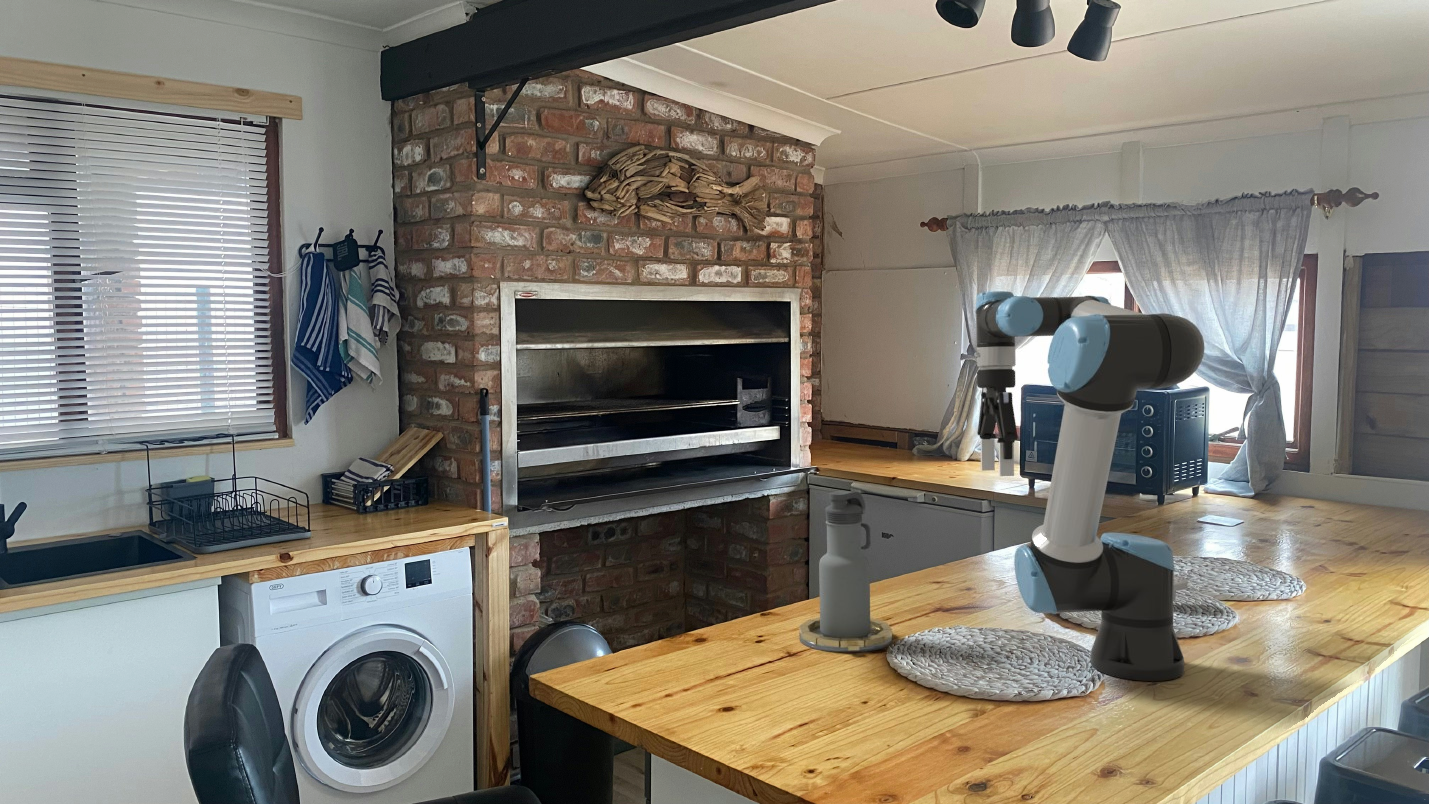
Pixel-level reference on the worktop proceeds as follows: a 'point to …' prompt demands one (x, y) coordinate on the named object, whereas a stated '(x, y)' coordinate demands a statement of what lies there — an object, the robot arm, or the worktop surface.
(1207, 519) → the worktop surface
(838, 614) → the water bottle
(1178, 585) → the showerhead
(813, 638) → the collar
